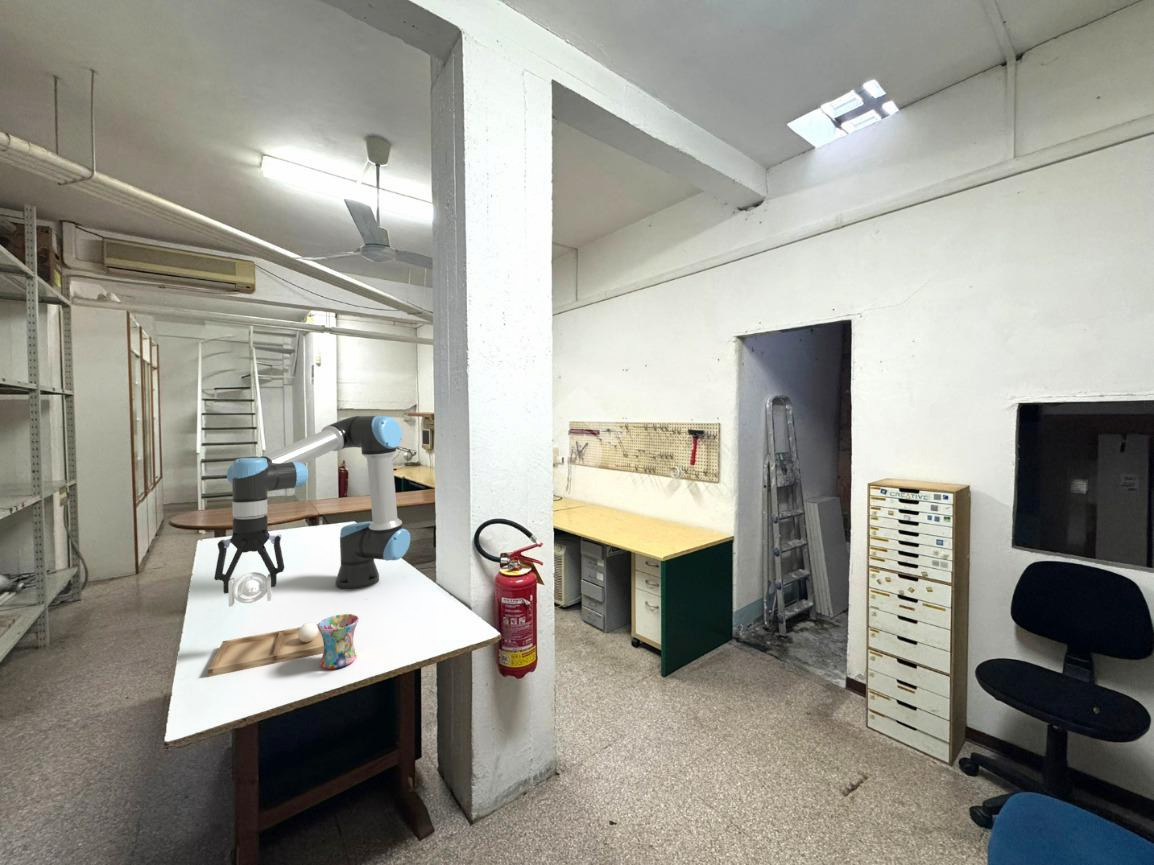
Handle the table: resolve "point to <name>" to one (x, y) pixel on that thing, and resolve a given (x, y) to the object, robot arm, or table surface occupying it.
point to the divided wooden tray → (263, 651)
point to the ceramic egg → (308, 632)
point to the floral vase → (338, 640)
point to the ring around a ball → (250, 587)
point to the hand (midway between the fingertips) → (250, 601)
